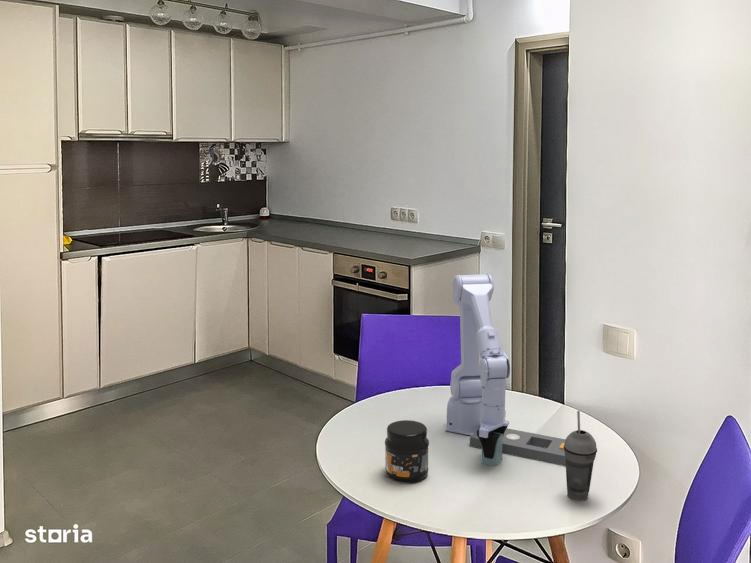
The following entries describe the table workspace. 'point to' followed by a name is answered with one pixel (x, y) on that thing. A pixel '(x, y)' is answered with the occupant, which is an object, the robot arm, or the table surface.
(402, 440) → the supplement container
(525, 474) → the table surface
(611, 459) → the table surface
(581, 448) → the beverage cup
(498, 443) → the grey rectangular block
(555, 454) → the control panel
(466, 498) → the table surface
